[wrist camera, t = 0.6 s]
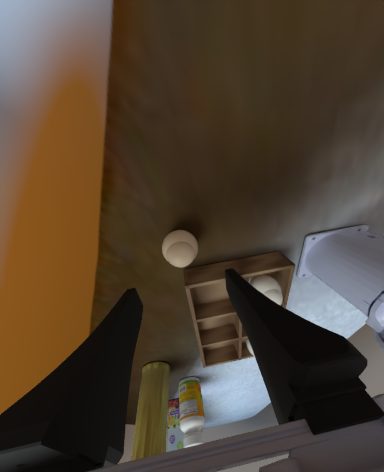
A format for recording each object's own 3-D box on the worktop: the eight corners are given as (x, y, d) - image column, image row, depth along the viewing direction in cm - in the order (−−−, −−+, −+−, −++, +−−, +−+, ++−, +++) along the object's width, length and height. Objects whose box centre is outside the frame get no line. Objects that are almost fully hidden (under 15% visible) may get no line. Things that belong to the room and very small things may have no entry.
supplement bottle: (199, 384, 39) (206, 448, 30) (178, 387, 38) (180, 453, 29) (200, 374, 36) (208, 440, 28) (178, 377, 36) (180, 446, 27)
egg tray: (279, 251, 22) (295, 264, 19) (266, 334, 32) (275, 351, 29) (183, 269, 21) (185, 286, 18) (200, 348, 31) (203, 367, 28)
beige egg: (192, 221, 18) (199, 239, 14) (197, 249, 20) (203, 273, 16) (159, 227, 18) (155, 247, 14) (167, 254, 20) (165, 280, 15)
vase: (171, 360, 32) (169, 490, 19) (168, 373, 34) (165, 497, 21) (142, 361, 31) (120, 501, 18) (142, 375, 33) (122, 506, 20)
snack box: (166, 400, 41) (162, 516, 27) (185, 395, 41) (191, 508, 27) (186, 421, 50) (191, 514, 37) (201, 417, 50) (212, 509, 37)
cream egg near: (270, 265, 22) (295, 291, 17) (267, 285, 24) (289, 313, 19) (243, 270, 22) (261, 298, 17) (242, 290, 24) (259, 319, 19)
